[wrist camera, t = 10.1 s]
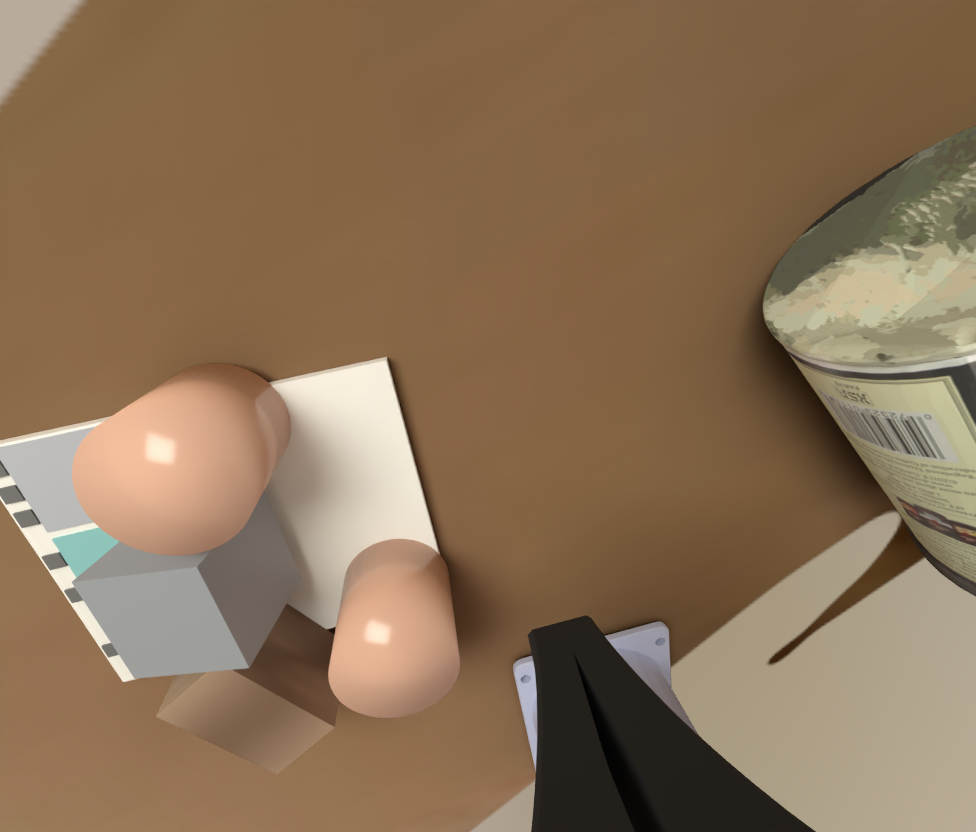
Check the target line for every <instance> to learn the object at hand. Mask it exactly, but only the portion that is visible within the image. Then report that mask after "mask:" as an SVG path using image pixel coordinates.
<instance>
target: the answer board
mask: <svg viewBox="0 0 976 832" xmlns="http://www.w3.org/2000/svg"><path fill="white" fill-rule="evenodd" d="M268 383H269V384H270V385H271V386H272V387H273V388H274V389H275V390H276V391H277V392H278V393H279V395H280V396H281V398H282V399H283V401H284V402H285V405H286V407H287V409H288V412H289V415H290V421H291V436H290V441H289V444H288V447H287V449H286V450H285V452H284V454H283V456H282V458H281V460H280V462H279V464H278V466H277V467H276V469H275V471H274V473H273V475H272V477H271V479H270V480H269V482H268V484H267V486H266V488H265V490H264V491H265V493H266V496H267V498H268V500H269V503H270V505H271V507H272V510H273V512H274V515H275V517H276V519H277V522H278V524H279V526H280V529H281V531H282V534H283V536H284V538H285V541H286V543H287V546H288V548H289V550H290V553H291V555H292V557H293V560H294V562H295V565H296V567H297V569H298V572H299V574H300V576H301V579H300V581H299V583H298V585H297V586H296V588H295V590H294V592H293V593H292V595H291V597H290V598H289V600H288V602H287V604H288V605H290V606H292V607H293V608H295V609H296V610H298V611H299V612H301V613H302V614H304V615H305V616H307V617H308V618H310V619H311V620H313V621H314V622H316V623H318V624H319V625H321V626H322V627H324V628H325V629H330V628H334V627H336V624H337V618H338V612H339V606H340V601H341V595H342V589H343V583H344V578H345V573H346V571H347V568H348V566H349V565H350V563H351V562H352V560H353V559H354V558H355V557H356V556H357V555H358V554H359V553H360V552H361V551H363V550H364V549H366V548H367V547H369V546H371V545H373V544H375V543H378V542H381V541H385V540H390V539H409V540H415V541H418V542H421V543H424V544H426V545H428V546H430V547H431V548H433V549H434V550H435V551H436V552H438V553H439V554H440V552H439V548H438V545H437V541H436V537H435V534H434V530H433V526H432V523H431V519H430V515H429V511H428V508H427V504H426V500H425V497H424V493H423V489H422V485H421V482H420V478H419V474H418V471H417V467H416V463H415V460H414V456H413V452H412V448H411V445H410V441H409V437H408V434H407V430H406V426H405V423H404V419H403V415H402V411H401V408H400V404H399V400H398V397H397V393H396V389H395V385H394V382H393V378H392V374H391V371H390V367H389V363H388V360H387V357H384V358H379V359H374V360H370V361H365V362H360V363H356V364H351V365H347V366H342V367H337V368H333V369H328V370H324V371H319V372H314V373H310V374H305V375H300V376H296V377H291V378H287V379H282V380H277V381H273V382H268ZM108 418H110V417H106V418H102V419H97V420H92V421H88V422H83V423H79V424H74V425H69V426H65V427H60V428H55V429H51V430H46V431H42V432H37V433H32V434H28V435H23V436H18V437H14V438H9V439H5V440H0V499H1V501H2V502H3V504H4V505H5V507H6V508H7V510H8V511H9V513H10V514H11V516H12V517H13V519H14V520H15V522H16V523H17V525H18V526H19V528H20V529H21V531H22V532H23V534H24V535H25V537H26V538H27V540H28V541H29V543H30V544H31V546H32V547H33V549H34V550H35V552H36V553H37V555H38V556H39V558H40V559H41V561H42V562H43V564H44V565H45V566H46V568H47V569H48V571H49V572H50V574H51V575H52V577H53V578H54V580H55V581H56V583H57V584H58V586H59V587H60V589H61V590H62V592H63V593H64V595H65V596H66V598H67V599H68V601H69V602H70V604H71V605H72V607H73V608H74V610H75V611H76V613H77V614H78V616H79V617H80V619H81V620H82V622H83V623H84V625H85V626H86V628H87V629H88V631H89V632H90V634H91V635H92V636H93V638H94V639H95V641H96V642H97V644H98V645H99V647H100V648H101V650H102V651H103V653H104V654H105V656H106V657H107V659H108V660H109V662H110V663H111V665H112V666H113V668H114V669H115V671H116V672H117V674H118V675H119V677H120V678H121V680H122V681H123V682H126V681H130V680H133V679H134V677H133V676H132V674H131V673H130V671H129V669H128V668H127V666H126V665H125V663H124V662H123V660H122V659H121V657H120V656H119V654H118V653H117V651H116V650H115V648H114V647H113V645H112V643H111V642H110V640H109V639H108V637H107V636H106V634H105V633H104V631H103V630H102V628H101V627H100V625H99V624H98V622H97V621H96V619H95V618H94V616H93V614H92V613H91V611H90V610H89V608H88V607H87V605H86V604H85V602H84V601H83V599H82V598H81V596H80V595H79V593H78V592H77V590H76V588H75V587H74V585H73V584H72V581H73V580H75V579H76V578H77V577H78V576H79V575H81V574H82V573H83V572H84V571H85V570H87V569H88V568H89V567H90V566H91V565H92V564H94V563H95V562H96V561H97V560H98V559H100V558H101V557H102V556H103V555H104V554H105V553H107V552H108V551H109V550H110V549H111V548H113V547H114V546H115V545H116V544H117V543H119V542H120V541H118V540H116V539H114V538H113V537H111V536H110V535H108V534H107V533H105V532H104V531H103V530H102V529H101V528H99V527H98V526H97V525H96V524H95V523H94V522H93V521H92V520H91V519H90V517H89V516H88V515H87V514H86V512H85V511H84V509H83V508H82V506H81V505H80V503H79V501H78V499H77V496H76V493H75V490H74V487H73V481H72V465H73V460H74V456H75V454H76V451H77V449H78V447H79V445H80V444H81V442H82V440H83V439H84V438H85V437H86V436H87V434H88V433H89V432H90V431H92V430H93V429H94V428H95V427H96V426H97V425H99V424H101V423H102V422H104V421H105V420H107V419H108Z"/></svg>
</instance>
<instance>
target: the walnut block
mask: <svg viewBox="0 0 976 832" xmlns="http://www.w3.org/2000/svg"><path fill="white" fill-rule="evenodd" d="M333 641H334V634H333V633H331V632H330V631H328V630H327V629H325V628H324V627H322V626H321V625H319V624H318V623H316V622H314V621H313V620H311V619H310V618H308V617H307V616H305V615H304V614H302V613H301V612H299V611H298V610H296V609H295V608H293V607H292V606H290V605H288V604H286V605H285V607H284V609H283V611H282V612H281V614H280V616H279V618H278V619H277V621H276V623H275V624H274V626H273V628H272V630H271V631H270V633H269V635H268V637H267V638H266V640H265V642H264V644H263V645H262V647H261V649H260V650H259V652H258V654H257V656H256V657H255V659H254V661H253V663H252V664H251V666H250V668H245V669H234V670H223V671H212V672H202V673H191V674H180V675H176V676H175V678H174V680H173V682H172V684H171V686H170V688H169V690H168V692H167V694H166V696H165V698H164V700H163V702H162V704H161V706H160V708H159V711H158V713H157V715H156V717H158V718H160V719H162V720H164V721H166V722H168V723H171V724H173V725H175V726H177V727H179V728H181V729H183V730H185V731H187V732H189V733H191V734H193V735H196V736H198V737H200V738H202V739H204V740H206V741H208V742H210V743H212V744H214V745H216V746H218V747H221V748H223V749H225V750H227V751H229V752H231V753H233V754H235V755H237V756H239V757H241V758H243V759H246V760H248V761H250V762H252V763H254V764H256V765H258V766H260V767H262V768H264V769H266V770H269V771H271V772H273V773H275V774H278V773H279V772H281V771H282V770H283V769H284V768H285V767H287V766H288V765H289V764H290V763H292V762H293V761H294V760H295V759H296V758H298V757H299V756H300V755H301V754H303V753H304V752H305V751H306V750H307V749H309V748H310V747H311V746H312V745H314V744H315V743H316V742H317V741H318V740H320V739H321V738H322V737H323V736H325V735H326V734H327V733H328V732H330V731H331V730H332V729H333V728H334V727H335V721H336V713H337V704H338V699H337V697H336V696H335V695H334V693H333V691H332V689H331V687H330V684H329V678H328V672H329V665H330V659H331V653H332V647H333Z"/></svg>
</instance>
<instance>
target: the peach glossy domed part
mask: <svg viewBox="0 0 976 832" xmlns="http://www.w3.org/2000/svg"><path fill="white" fill-rule="evenodd" d="M290 436H291V421H290V415H289V412H288V409H287V407H286V405H285V402H284V401H283V399H282V398H281V396H280V395H279V393H278V392H277V391H276V390H275V389H274V388H273V387H272V386H271V385H270V384H269V383H268V382H267V381H266V380H264V379H263V378H262V377H260V376H258V375H257V374H255V373H253V372H251V371H249V370H247V369H244V368H241V367H238V366H235V365H230V364H222V363H207V364H201V365H197V366H193V367H190V368H188V369H185V370H183V371H182V372H180V373H178V374H177V375H175V376H173V377H172V378H170V379H169V380H167V381H166V382H164V383H163V384H161V385H160V386H158V387H156V388H155V389H153V390H152V391H150V392H149V393H147V394H146V395H144V396H142V397H141V398H139V399H138V400H136V401H135V402H133V403H132V404H130V405H129V406H127V407H125V408H124V409H122V410H121V411H119V412H118V413H116V414H115V415H113V416H111V417H110V418H108V419H107V420H105V421H104V422H102V423H101V424H99V425H97V426H96V427H95V428H94V429H93V430H92V431H90V432H89V433H88V434H87V436H86V437H85V438H84V439H83V440H82V442H81V444H80V445H79V447H78V449H77V451H76V454H75V456H74V460H73V465H72V481H73V487H74V490H75V493H76V496H77V499H78V501H79V503H80V505H81V506H82V508H83V509H84V511H85V512H86V514H87V515H88V516H89V517H90V519H91V520H92V521H93V522H94V523H95V524H96V525H97V526H98V527H99V528H101V529H102V530H103V531H104V532H105V533H107V534H108V535H110V536H111V537H113V538H114V539H116V540H118V541H120V542H122V543H123V544H126V545H128V546H130V547H133V548H135V549H138V550H142V551H145V552H149V553H154V554H160V555H170V556H181V555H192V554H197V553H202V552H205V551H209V550H212V549H214V548H216V547H219V546H221V545H222V544H224V543H226V542H227V541H229V540H230V539H232V538H233V537H234V536H235V535H237V534H238V533H239V532H240V530H241V529H242V528H243V527H244V526H245V524H246V523H247V521H248V520H249V518H250V516H251V514H252V512H253V510H254V509H255V507H256V505H257V503H258V501H259V499H260V497H261V495H262V494H263V492H264V490H265V488H266V486H267V484H268V482H269V480H270V479H271V477H272V475H273V473H274V471H275V469H276V467H277V466H278V464H279V462H280V460H281V458H282V456H283V454H284V452H285V450H286V449H287V447H288V444H289V441H290Z"/></svg>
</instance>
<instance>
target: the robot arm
mask: <svg viewBox="0 0 976 832" xmlns="http://www.w3.org/2000/svg"><path fill="white" fill-rule="evenodd" d="M528 638H529V643H530V648H531V653H532V656H529V657H525V658H522V659H519V660H517V661H516V662H515V663H514V665H513V671H514V676H515V680H516V685H517V689H518V694H519V698H520V703H521V707H522V712H523V716H524V721H525V725H526V730H527V734H528V739H529V743H530V748H531V752H532V757H533V761H534V766H535V770H536V781H535V795H534V809H533V821H532V830H531V832H815V831H814V830H813V829H811V828H810V827H808V826H807V825H806V824H805V823H803V822H802V821H801V820H799V819H798V818H797V817H795V816H794V815H792V814H791V813H790V812H788V811H787V810H786V809H784V808H783V807H782V806H781V805H780V804H778V803H777V802H776V801H775V800H773V799H772V798H771V797H770V796H768V795H767V794H766V793H765V792H763V791H762V790H761V789H760V788H759V787H757V786H756V785H755V784H754V783H752V782H751V781H750V780H749V779H748V778H746V777H745V776H744V775H743V774H742V773H741V772H739V771H738V770H737V769H736V768H735V767H733V766H732V765H731V764H730V763H729V762H727V761H726V760H725V759H724V758H723V757H722V756H721V755H720V754H718V753H717V752H716V751H715V750H714V749H713V748H712V747H711V746H710V745H708V744H707V743H706V742H705V741H704V740H703V739H702V738H701V737H700V736H699V735H698V734H697V732H696V730H695V729H694V727H693V725H692V723H691V722H690V720H689V718H688V716H687V715H686V713H685V711H684V710H683V708H682V706H681V704H680V702H679V701H678V699H677V697H676V696H675V694H674V692H673V690H672V689H671V667H670V645H669V630H668V628H667V626H666V625H665V624H664V623H663V622H654V623H650V624H646V625H643V626H639V627H635V628H632V629H628V630H624V631H621V632H617V633H613V634H610V635H606V636H604V635H603V633H602V632H601V631H600V629H599V628H598V627H597V626H596V624H595V623H594V621H593V620H592V619H591V618H590V617H588V616H582V617H578V618H574V619H571V620H567V621H563V622H560V623H556V624H552V625H548V626H545V627H541V628H537V629H533V630H532V631H531V632H530V633H529V634H528ZM525 675H526V676H525Z"/></svg>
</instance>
